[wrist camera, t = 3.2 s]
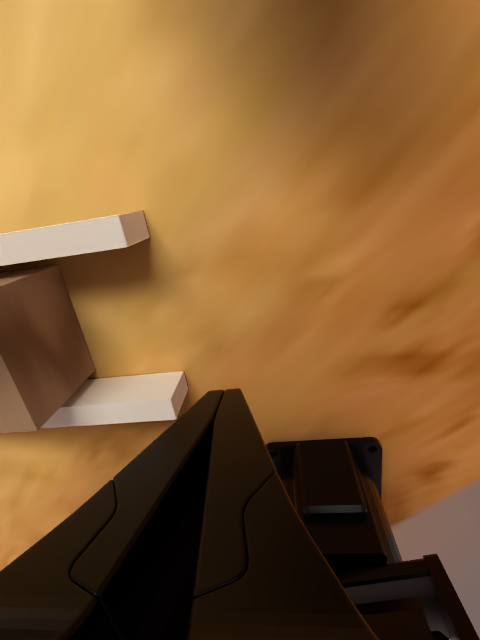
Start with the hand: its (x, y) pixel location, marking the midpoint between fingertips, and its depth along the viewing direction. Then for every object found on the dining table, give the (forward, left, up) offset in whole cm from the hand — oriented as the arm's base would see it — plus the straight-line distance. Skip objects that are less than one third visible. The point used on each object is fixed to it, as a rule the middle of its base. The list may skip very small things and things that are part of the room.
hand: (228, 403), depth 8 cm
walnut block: (0, +12, -8) cm, 14 cm away
